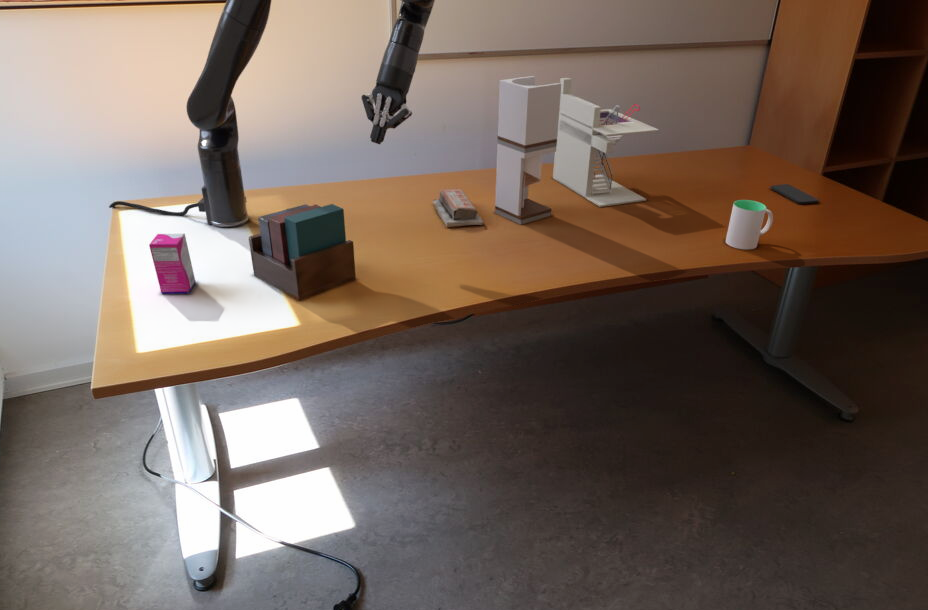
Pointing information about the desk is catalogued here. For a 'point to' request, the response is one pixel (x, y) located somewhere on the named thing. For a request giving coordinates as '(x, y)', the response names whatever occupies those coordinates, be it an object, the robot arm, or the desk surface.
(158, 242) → the supplement box
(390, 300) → the desk surface
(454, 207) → the packaged product
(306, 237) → the book
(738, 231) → the mug
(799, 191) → the phone
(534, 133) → the notched white tower
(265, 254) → the book rack
